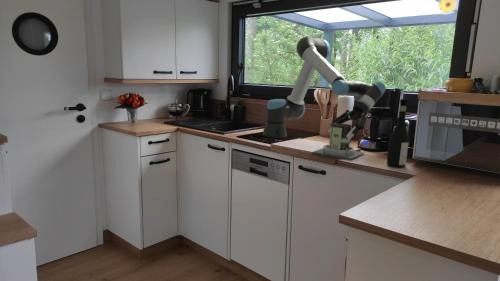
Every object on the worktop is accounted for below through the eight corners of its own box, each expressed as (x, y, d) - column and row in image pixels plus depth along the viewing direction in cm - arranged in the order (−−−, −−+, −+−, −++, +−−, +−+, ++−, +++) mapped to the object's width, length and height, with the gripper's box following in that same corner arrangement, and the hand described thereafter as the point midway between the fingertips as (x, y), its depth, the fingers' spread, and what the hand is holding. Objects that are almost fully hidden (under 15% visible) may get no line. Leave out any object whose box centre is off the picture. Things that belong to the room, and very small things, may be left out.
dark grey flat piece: (327, 148, 198) (327, 142, 197) (364, 154, 187) (364, 147, 186) (312, 153, 181) (312, 147, 181) (351, 160, 170) (352, 153, 170)
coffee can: (348, 151, 188) (351, 124, 186) (349, 155, 178) (352, 126, 176) (328, 149, 190) (330, 122, 188) (328, 153, 180) (330, 124, 178)
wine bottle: (407, 166, 165) (415, 99, 160) (403, 169, 158) (412, 100, 153) (388, 163, 169) (396, 98, 164) (384, 165, 163) (392, 98, 158)
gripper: (385, 113, 177) (360, 145, 173) (349, 108, 199) (325, 136, 194) (379, 102, 174) (352, 134, 169) (343, 98, 195) (318, 127, 191)
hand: (338, 135), depth 182 cm, fingers open, 13 cm apart
